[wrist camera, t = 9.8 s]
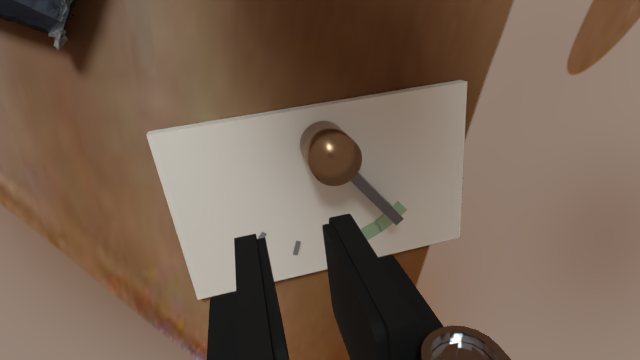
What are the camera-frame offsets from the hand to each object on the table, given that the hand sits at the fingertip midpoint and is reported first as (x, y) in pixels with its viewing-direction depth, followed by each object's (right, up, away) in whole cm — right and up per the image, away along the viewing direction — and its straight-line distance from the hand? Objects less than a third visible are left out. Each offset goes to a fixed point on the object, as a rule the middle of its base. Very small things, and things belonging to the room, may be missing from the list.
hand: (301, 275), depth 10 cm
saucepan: (+3, +3, +28) cm, 28 cm away
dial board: (+1, +1, +30) cm, 30 cm away
